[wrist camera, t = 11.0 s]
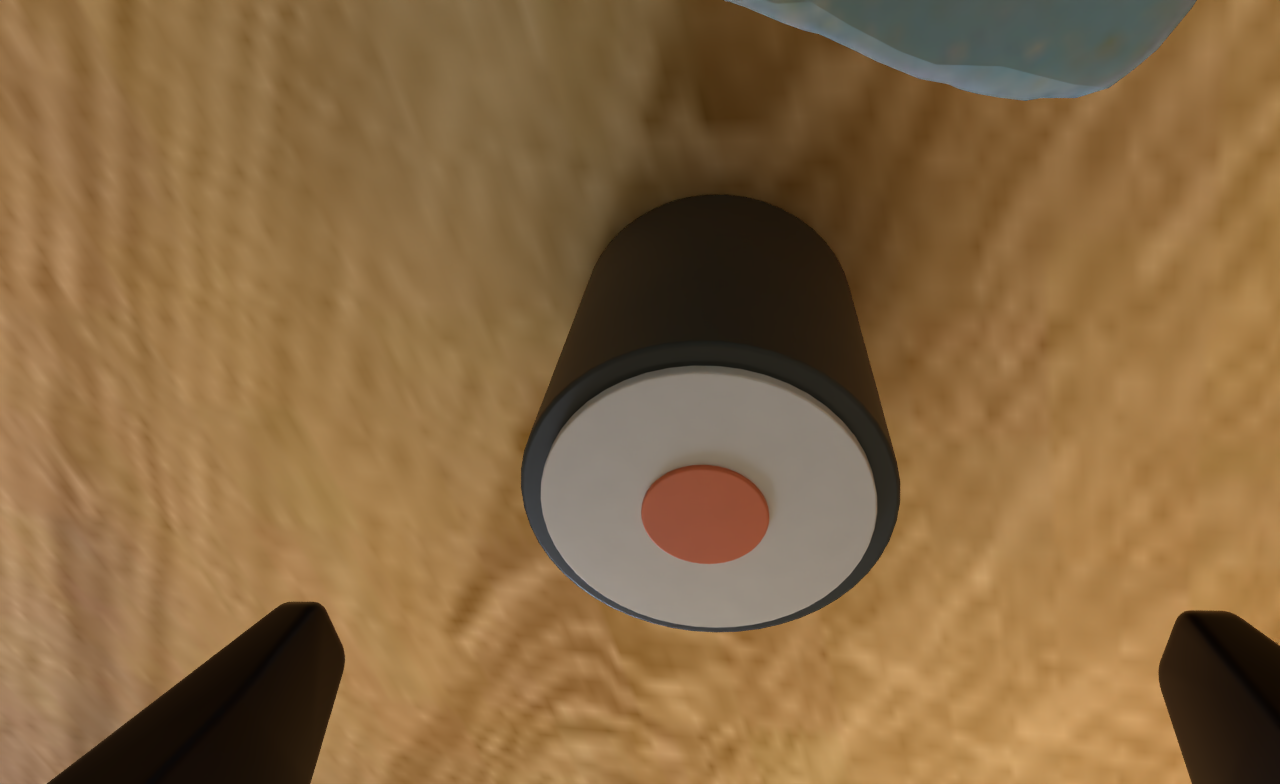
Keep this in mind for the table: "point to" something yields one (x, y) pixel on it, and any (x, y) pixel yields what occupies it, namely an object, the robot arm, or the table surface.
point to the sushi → (713, 425)
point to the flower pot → (994, 39)
